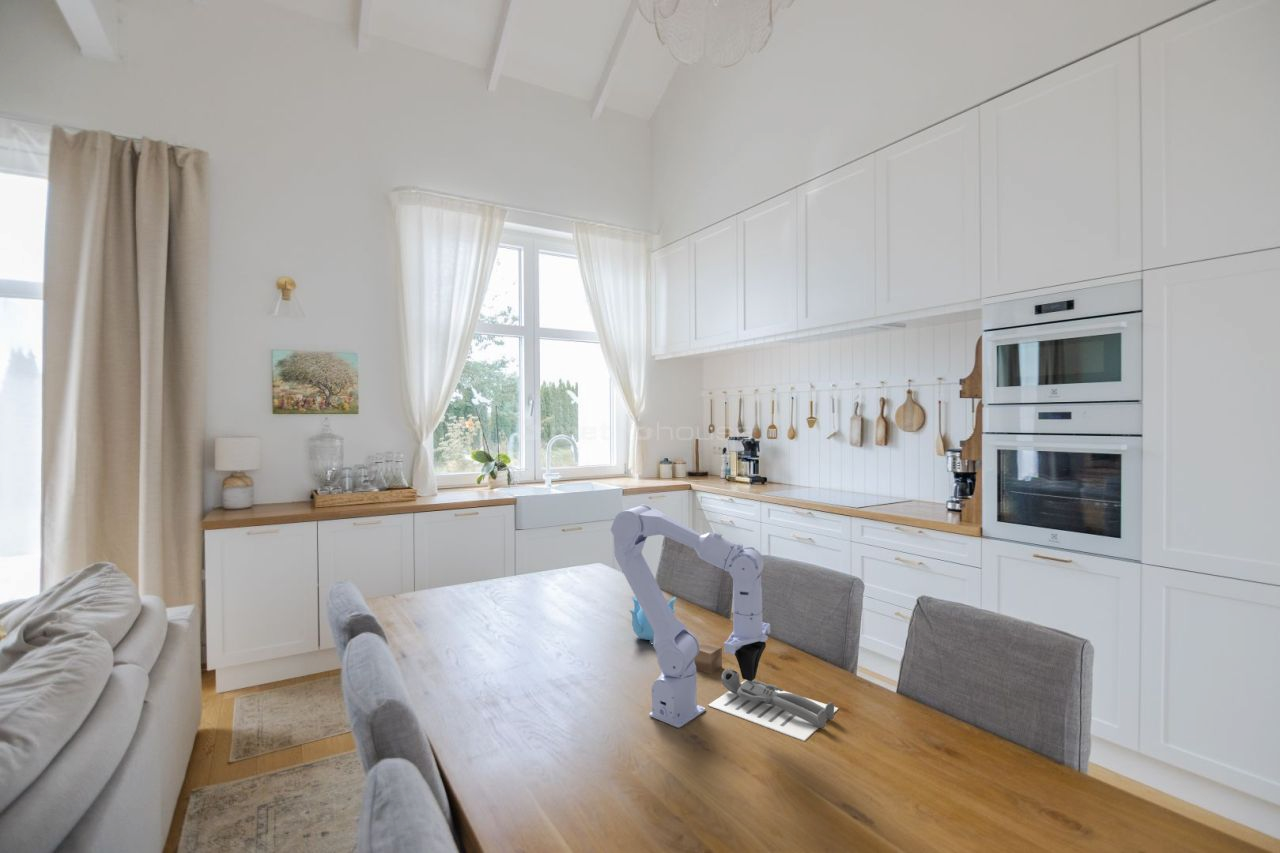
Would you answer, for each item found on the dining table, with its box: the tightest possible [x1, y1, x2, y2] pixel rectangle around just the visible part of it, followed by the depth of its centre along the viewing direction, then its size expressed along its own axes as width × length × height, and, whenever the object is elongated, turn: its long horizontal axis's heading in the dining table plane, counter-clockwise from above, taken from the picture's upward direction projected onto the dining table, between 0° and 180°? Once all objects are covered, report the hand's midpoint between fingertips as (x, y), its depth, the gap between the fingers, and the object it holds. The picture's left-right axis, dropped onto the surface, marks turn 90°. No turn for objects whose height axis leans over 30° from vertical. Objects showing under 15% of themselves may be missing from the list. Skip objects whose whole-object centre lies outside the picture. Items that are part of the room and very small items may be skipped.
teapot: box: [628, 596, 677, 644], centre depth 166 cm, size 13×13×10 cm
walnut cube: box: [694, 642, 723, 675], centre depth 146 cm, size 5×5×5 cm
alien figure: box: [720, 668, 835, 729], centre depth 125 cm, size 8×5×25 cm
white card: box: [707, 679, 839, 742], centre depth 125 cm, size 16×22×1 cm
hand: (748, 678), depth 118 cm, fingers closed
